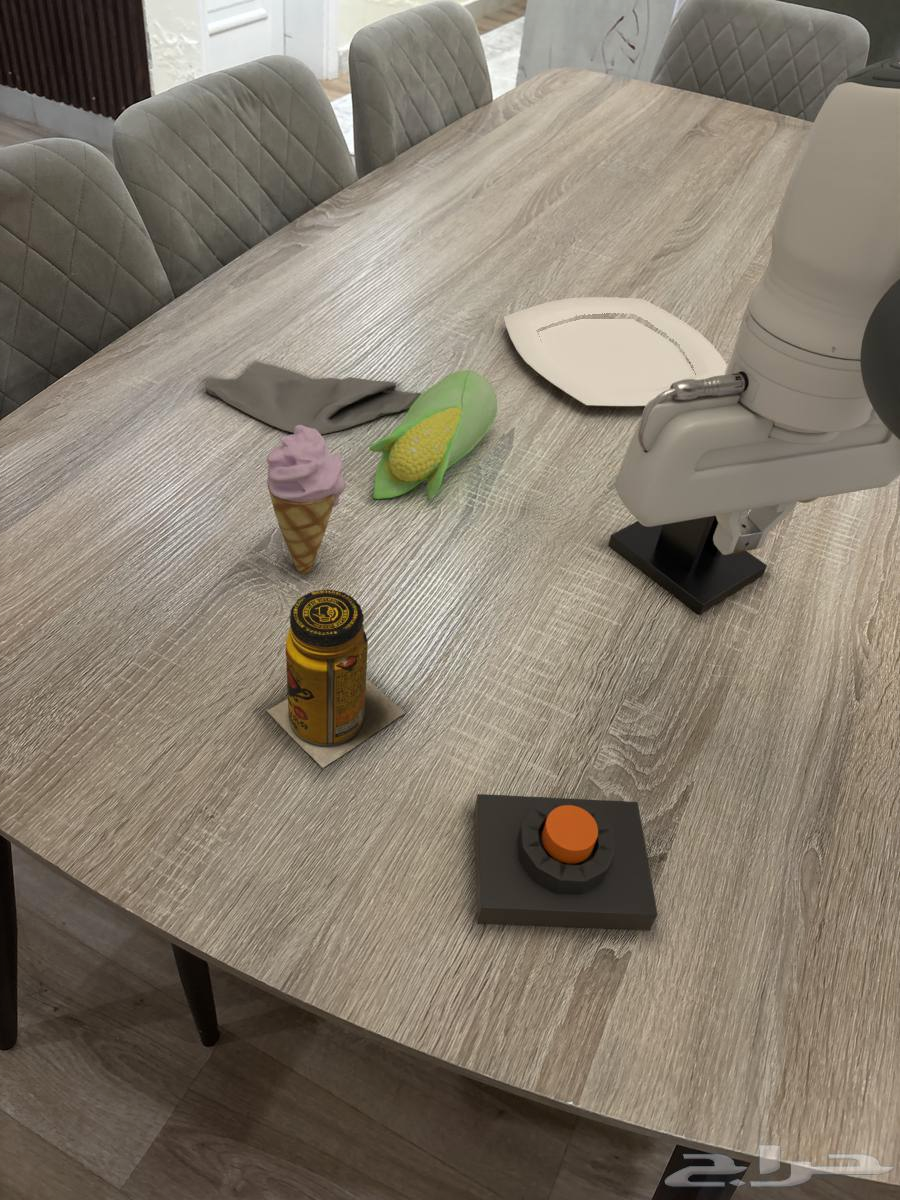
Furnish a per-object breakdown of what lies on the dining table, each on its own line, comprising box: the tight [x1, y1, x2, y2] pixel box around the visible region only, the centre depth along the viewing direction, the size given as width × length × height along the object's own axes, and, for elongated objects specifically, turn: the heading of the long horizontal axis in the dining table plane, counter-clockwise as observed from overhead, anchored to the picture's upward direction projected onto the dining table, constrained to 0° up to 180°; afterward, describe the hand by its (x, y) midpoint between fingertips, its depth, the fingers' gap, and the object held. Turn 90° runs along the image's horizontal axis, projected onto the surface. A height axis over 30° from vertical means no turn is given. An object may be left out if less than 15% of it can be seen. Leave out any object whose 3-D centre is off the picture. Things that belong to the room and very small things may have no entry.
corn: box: [369, 369, 498, 500], centre depth 100 cm, size 8×8×20 cm
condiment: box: [266, 589, 406, 769], centre depth 72 cm, size 7×8×12 cm
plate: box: [503, 296, 728, 408], centre depth 121 cm, size 27×27×2 cm
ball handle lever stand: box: [607, 516, 768, 616], centre depth 89 cm, size 12×10×13 cm
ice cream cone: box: [266, 425, 347, 575], centre depth 83 cm, size 7×6×15 cm
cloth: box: [204, 361, 422, 435], centre depth 107 cm, size 26×14×2 cm, turn 81°
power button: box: [542, 805, 598, 864], centre depth 64 cm, size 4×4×2 cm
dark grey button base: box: [473, 793, 658, 931], centre depth 66 cm, size 12×9×4 cm
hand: (735, 546), depth 64 cm, fingers closed
